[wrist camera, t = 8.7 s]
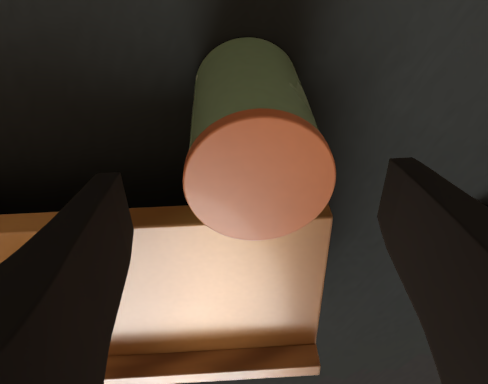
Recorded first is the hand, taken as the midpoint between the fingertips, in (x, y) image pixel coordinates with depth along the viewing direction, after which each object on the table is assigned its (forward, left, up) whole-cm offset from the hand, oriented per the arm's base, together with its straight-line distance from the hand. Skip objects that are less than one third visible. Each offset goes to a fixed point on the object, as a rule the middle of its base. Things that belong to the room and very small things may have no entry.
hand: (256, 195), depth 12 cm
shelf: (-6, +7, -7) cm, 12 cm away
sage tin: (0, 0, -7) cm, 7 cm away
